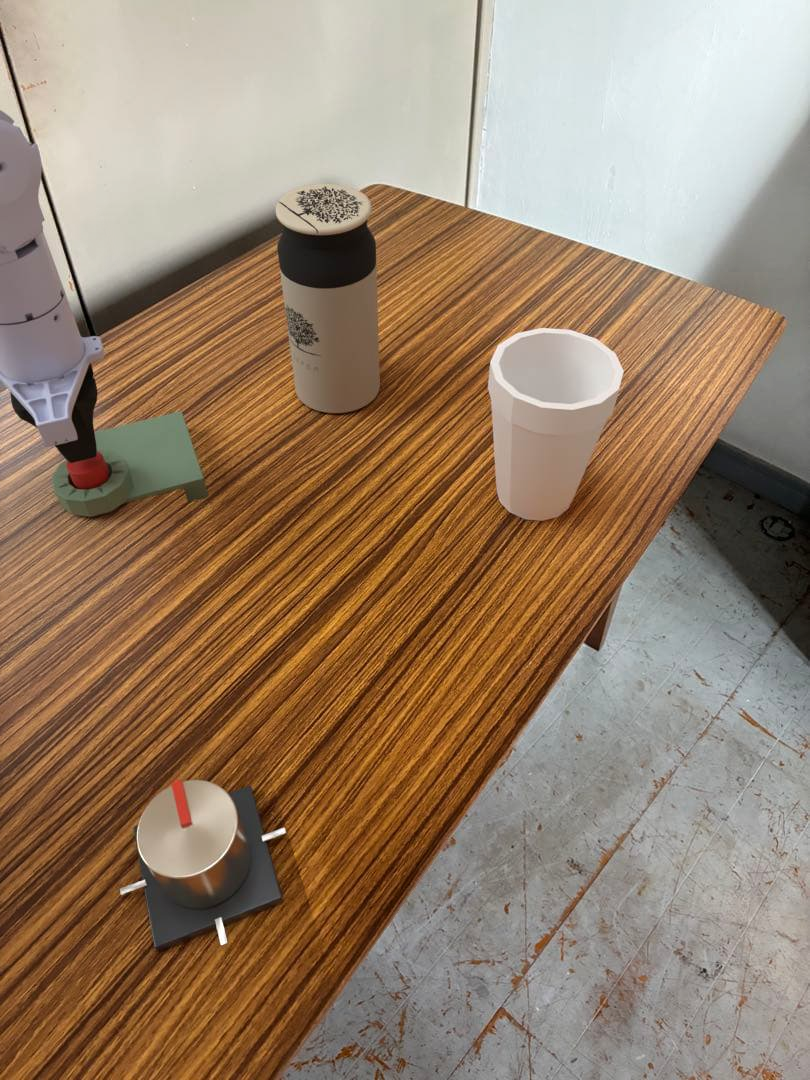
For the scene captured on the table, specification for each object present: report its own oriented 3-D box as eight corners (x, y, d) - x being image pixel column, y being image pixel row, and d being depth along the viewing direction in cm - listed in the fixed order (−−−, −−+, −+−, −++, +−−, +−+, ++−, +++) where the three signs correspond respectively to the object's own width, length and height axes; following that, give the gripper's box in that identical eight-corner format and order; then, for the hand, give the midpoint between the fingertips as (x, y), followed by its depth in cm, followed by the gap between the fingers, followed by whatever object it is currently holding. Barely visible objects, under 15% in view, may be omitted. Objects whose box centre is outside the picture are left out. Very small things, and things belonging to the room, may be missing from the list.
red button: (75, 494, 63) (68, 478, 62) (71, 470, 65) (64, 454, 63) (112, 484, 64) (105, 468, 62) (106, 461, 65) (100, 445, 64)
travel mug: (356, 353, 81) (346, 173, 67) (395, 398, 76) (392, 215, 62) (282, 378, 78) (256, 195, 64) (317, 426, 74) (297, 241, 60)
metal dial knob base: (146, 992, 44) (134, 980, 42) (119, 831, 50) (107, 813, 48) (313, 924, 46) (309, 909, 44) (269, 777, 52) (264, 759, 50)
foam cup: (609, 481, 69) (643, 355, 59) (562, 551, 64) (591, 426, 54) (509, 440, 72) (526, 314, 63) (457, 504, 67) (467, 378, 57)
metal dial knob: (262, 887, 45) (248, 852, 41) (168, 924, 44) (144, 893, 40) (238, 802, 48) (223, 762, 44) (150, 835, 47) (126, 797, 43)
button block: (72, 542, 65) (56, 508, 62) (59, 460, 71) (43, 426, 68) (211, 505, 67) (202, 470, 64) (186, 429, 73) (177, 394, 70)
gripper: (97, 349, 49) (151, 504, 59) (69, 232, 57) (120, 386, 68) (-28, 376, 47) (50, 531, 57) (-37, 252, 56) (32, 406, 66)
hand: (82, 454), depth 62 cm, fingers closed
